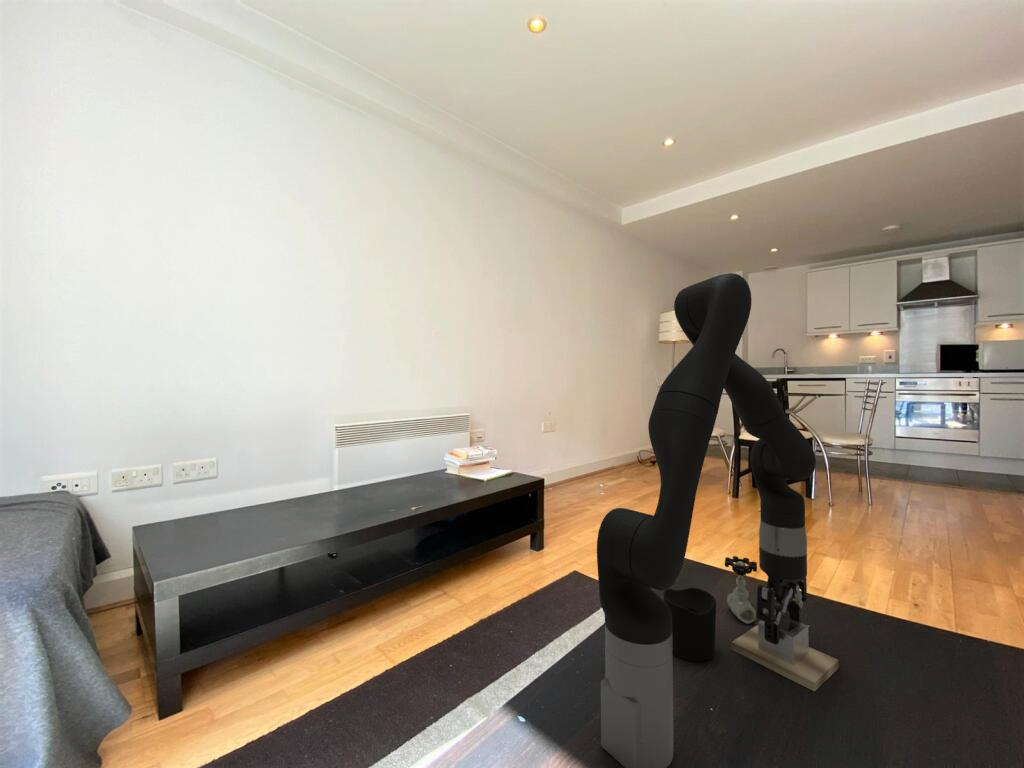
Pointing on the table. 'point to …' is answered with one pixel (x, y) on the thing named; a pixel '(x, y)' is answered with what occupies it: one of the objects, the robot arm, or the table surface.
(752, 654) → the shaft stand
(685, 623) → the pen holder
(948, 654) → the table surface
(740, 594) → the valve
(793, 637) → the block
